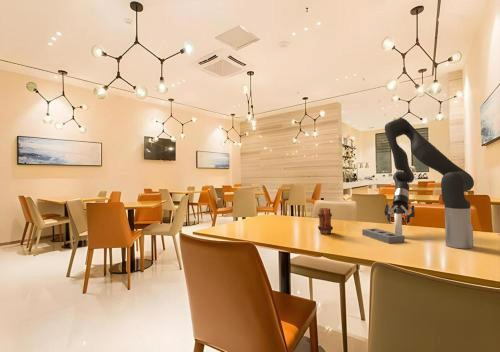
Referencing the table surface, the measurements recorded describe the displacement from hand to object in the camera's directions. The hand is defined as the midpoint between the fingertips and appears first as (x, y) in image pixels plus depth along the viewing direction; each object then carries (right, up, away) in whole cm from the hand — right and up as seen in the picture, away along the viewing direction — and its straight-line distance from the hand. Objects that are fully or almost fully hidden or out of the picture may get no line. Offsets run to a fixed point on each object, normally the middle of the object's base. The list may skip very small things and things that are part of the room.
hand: (398, 221), depth 143 cm
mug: (-35, -9, +10) cm, 38 cm away
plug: (0, -8, -1) cm, 8 cm away
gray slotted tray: (-10, -8, -3) cm, 13 cm away
